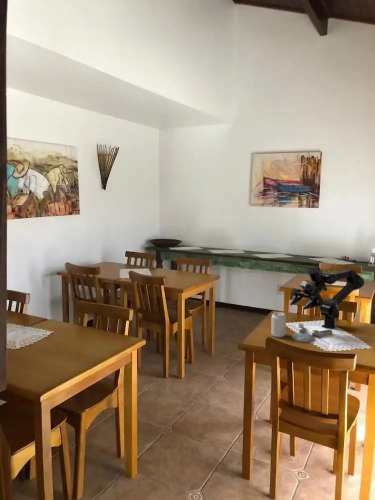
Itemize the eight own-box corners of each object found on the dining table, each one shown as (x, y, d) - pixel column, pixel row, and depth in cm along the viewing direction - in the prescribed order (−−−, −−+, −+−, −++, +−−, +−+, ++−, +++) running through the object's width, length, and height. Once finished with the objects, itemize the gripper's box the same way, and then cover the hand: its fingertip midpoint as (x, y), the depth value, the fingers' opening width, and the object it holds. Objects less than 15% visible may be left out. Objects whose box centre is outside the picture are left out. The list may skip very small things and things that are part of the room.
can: (275, 332, 221) (275, 310, 219) (288, 334, 216) (288, 313, 215) (268, 336, 215) (268, 313, 214) (281, 339, 211) (282, 316, 209)
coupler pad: (298, 333, 218) (298, 331, 218) (317, 337, 211) (317, 335, 211) (288, 338, 210) (288, 337, 210) (308, 344, 203) (308, 342, 203)
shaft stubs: (299, 326, 228) (299, 321, 228) (333, 334, 216) (333, 328, 215) (290, 331, 221) (290, 326, 220) (324, 339, 208) (324, 334, 208)
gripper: (297, 274, 224) (278, 291, 218) (325, 280, 208) (305, 298, 202) (304, 290, 228) (286, 307, 222) (331, 297, 212) (312, 315, 206)
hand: (297, 306), depth 213 cm, fingers open, 9 cm apart
